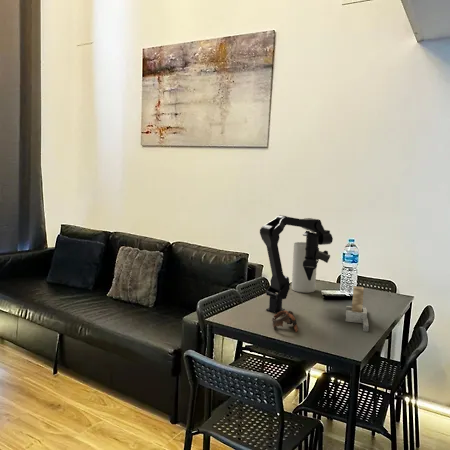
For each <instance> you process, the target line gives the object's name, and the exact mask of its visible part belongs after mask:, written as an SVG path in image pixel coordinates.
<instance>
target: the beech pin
mask: <svg viewBox="0 0 450 450" xmlns="http://www.w3.org/2000/svg"><path fill="white" fill-rule="evenodd" d="M364 290H365V288H364V287H363V286H355V285H354V286H353V289H352V303H351V304H352V305H351V306H352V311H357V312H362V306H364V305H363V304H364Z"/></svg>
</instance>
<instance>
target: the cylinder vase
mask: <svg viewBox="0 0 450 450" xmlns="http://www.w3.org/2000/svg"><path fill="white" fill-rule="evenodd" d="M305 248H306V241H301V242H298V241H297V242H293V251H292V252H293V253H292V275H291V290H293V291H294V292H297V293H302V294H305V293H306V294H310V293H313V292H315V291H316V285H317V284H316V281H317V280H316V279H317V268H315V269H314V271H313V274H312V277H311V280H308V278H307V275H306V272H305V270H304V267H303V261H304V260H305V252H306V250H305ZM316 261H317V260H316Z"/></svg>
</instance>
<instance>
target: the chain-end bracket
mask: <svg viewBox="0 0 450 450" xmlns="http://www.w3.org/2000/svg"><path fill="white" fill-rule="evenodd" d="M345 322H349V323H357V324H358V323H359V324H362V329H363V330H362V331H363V332H367V333H368V332H369V327H370V326H369V320H368V310H367V308H366V306H365V305H363V306H362V312H357V311H352V305H346V306H345Z"/></svg>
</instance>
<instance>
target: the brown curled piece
mask: <svg viewBox="0 0 450 450" xmlns="http://www.w3.org/2000/svg"><path fill="white" fill-rule="evenodd" d="M271 321H272V327H273V328H276V327H284V323H286V324H287V325H292V327H293V328H294V329H293V330H294V332H295V333H297V332H298V330H299V327H298V323H297V319H296V318H295V316H294V312H293V311H291V310H284V311H281V312H279V313H275V314H274V316H273V317H272V318H271Z"/></svg>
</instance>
